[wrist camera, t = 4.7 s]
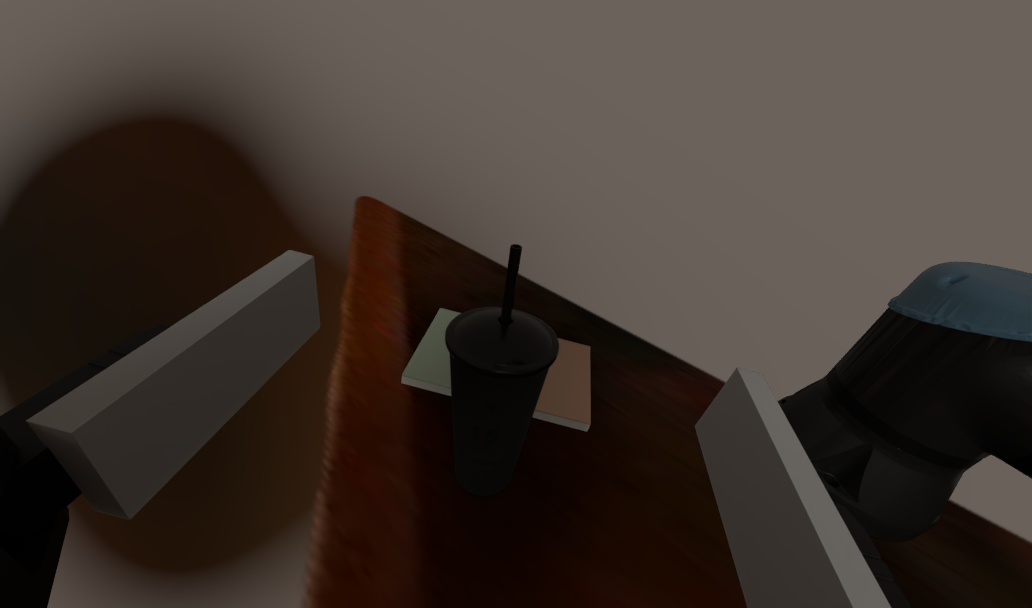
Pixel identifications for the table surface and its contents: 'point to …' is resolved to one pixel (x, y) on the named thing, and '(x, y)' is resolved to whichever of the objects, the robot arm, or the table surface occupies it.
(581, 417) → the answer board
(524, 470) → the table surface
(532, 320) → the drinking cup
